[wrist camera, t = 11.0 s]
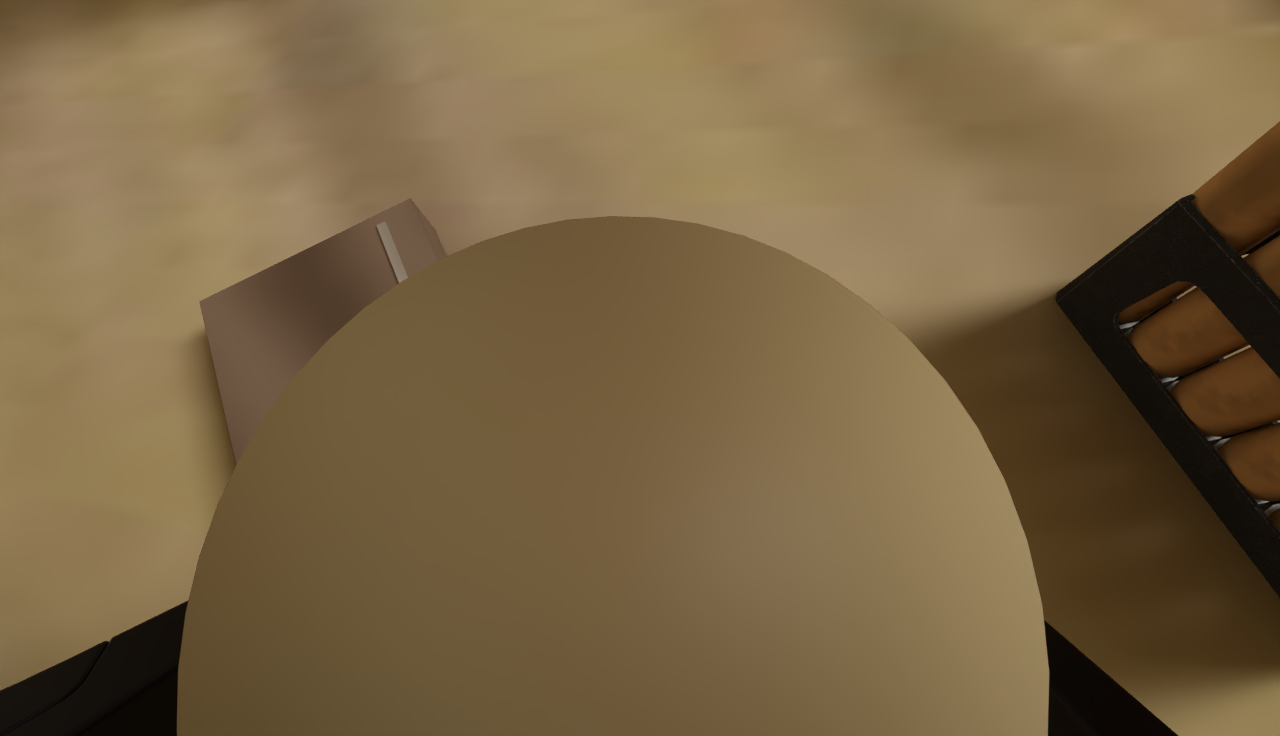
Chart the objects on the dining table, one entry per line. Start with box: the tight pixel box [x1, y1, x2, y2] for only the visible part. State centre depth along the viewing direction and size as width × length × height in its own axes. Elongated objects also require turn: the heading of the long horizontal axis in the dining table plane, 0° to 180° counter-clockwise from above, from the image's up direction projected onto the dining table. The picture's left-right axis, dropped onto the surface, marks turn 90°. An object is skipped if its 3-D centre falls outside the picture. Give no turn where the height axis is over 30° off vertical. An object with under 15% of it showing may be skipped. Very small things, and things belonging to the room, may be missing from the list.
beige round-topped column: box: [177, 216, 1049, 736], centre depth 9 cm, size 5×6×14 cm
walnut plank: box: [200, 198, 447, 465], centre depth 17 cm, size 8×20×2 cm, turn 27°
